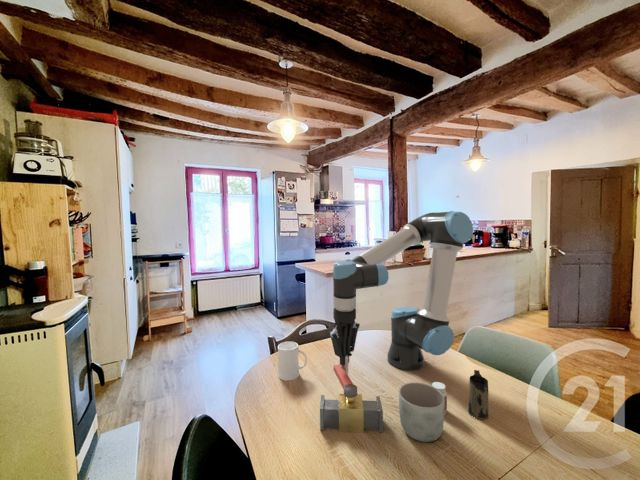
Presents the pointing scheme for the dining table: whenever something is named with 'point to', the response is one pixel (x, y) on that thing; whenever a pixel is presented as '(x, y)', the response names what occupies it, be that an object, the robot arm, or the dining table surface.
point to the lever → (345, 381)
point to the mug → (289, 361)
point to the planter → (421, 411)
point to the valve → (351, 414)
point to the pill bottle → (442, 389)
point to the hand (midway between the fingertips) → (344, 372)
